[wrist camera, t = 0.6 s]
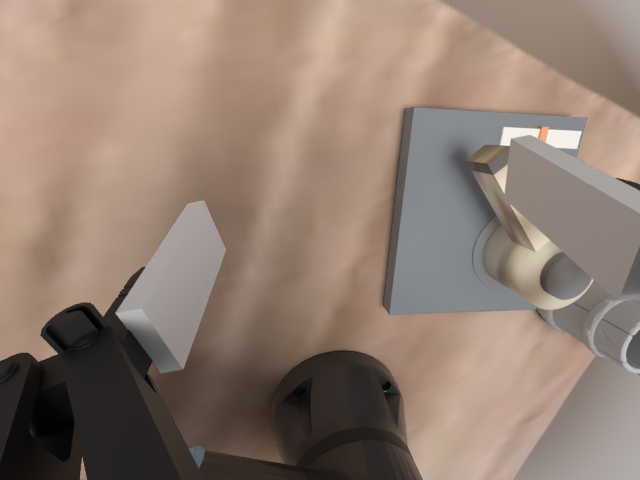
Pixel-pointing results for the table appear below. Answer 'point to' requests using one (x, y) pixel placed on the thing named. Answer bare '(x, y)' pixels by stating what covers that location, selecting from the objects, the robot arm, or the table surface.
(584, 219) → the robot arm
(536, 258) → the lever
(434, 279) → the grey base plate
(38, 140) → the table surface
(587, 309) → the mug
